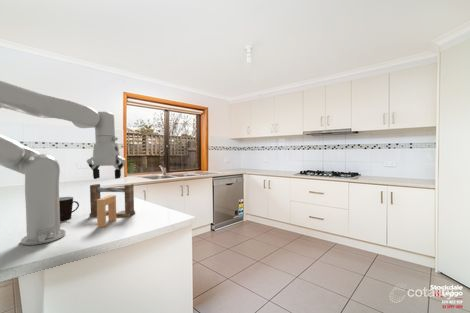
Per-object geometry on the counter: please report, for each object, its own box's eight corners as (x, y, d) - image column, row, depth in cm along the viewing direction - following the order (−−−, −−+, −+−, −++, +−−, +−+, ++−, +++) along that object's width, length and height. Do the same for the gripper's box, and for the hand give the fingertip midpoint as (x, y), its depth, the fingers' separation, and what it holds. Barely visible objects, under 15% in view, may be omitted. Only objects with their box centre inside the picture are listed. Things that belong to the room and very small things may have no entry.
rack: (135, 213, 114) (134, 183, 114) (129, 217, 108) (128, 185, 108) (97, 213, 115) (96, 183, 115) (89, 216, 109) (88, 185, 109)
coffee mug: (47, 220, 104) (46, 199, 103) (68, 215, 111) (67, 196, 111) (60, 224, 98) (59, 202, 98) (81, 219, 106) (80, 198, 105)
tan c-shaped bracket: (116, 220, 104) (115, 195, 103) (104, 227, 95) (103, 199, 94) (110, 220, 104) (109, 195, 103) (97, 226, 95) (96, 199, 94)
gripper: (128, 140, 101) (130, 177, 102) (92, 140, 102) (94, 177, 103) (119, 139, 94) (121, 179, 95) (80, 140, 95) (82, 179, 95)
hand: (107, 178), depth 99 cm, fingers open, 9 cm apart
